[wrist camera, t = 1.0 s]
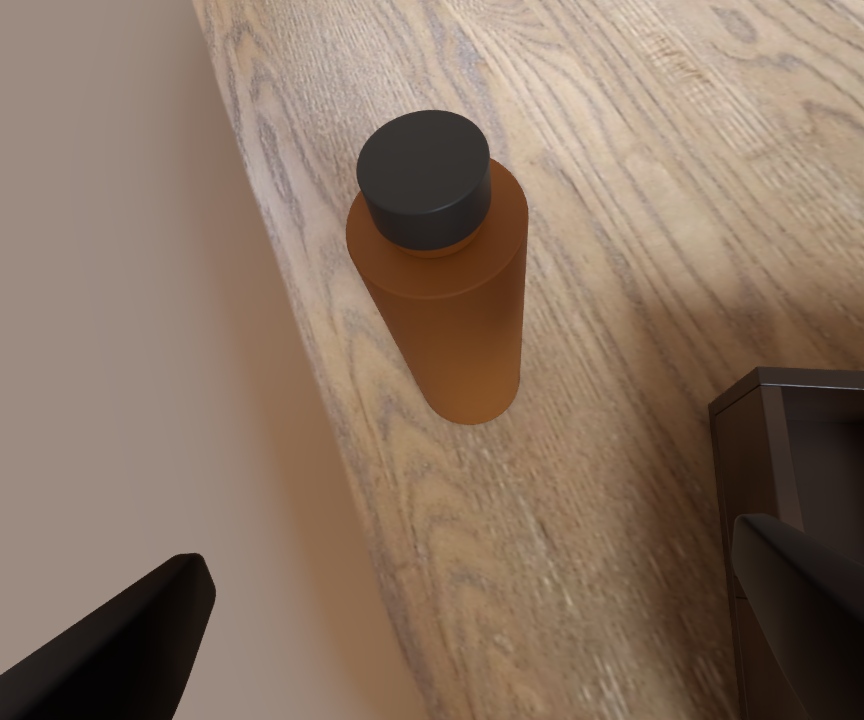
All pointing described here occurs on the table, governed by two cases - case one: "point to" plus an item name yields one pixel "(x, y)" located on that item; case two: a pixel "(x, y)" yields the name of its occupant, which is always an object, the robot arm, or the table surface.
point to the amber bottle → (444, 259)
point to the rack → (786, 493)
